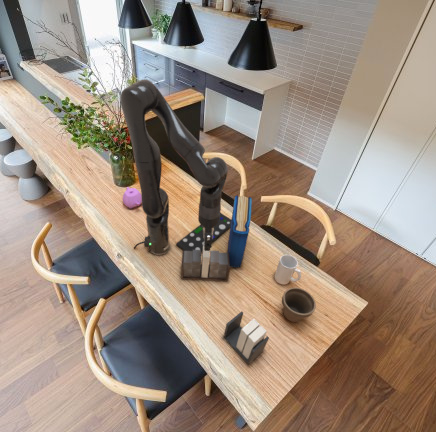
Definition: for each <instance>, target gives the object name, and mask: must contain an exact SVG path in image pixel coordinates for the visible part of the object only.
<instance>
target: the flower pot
mask: <svg viewBox="0 0 436 432" xmlns="http://www.w3.org/2000/svg"><path fill="white" fill-rule="evenodd" d="M281 304H282V307H283V308H282V310H283V315H284V318H285V319H287V320H288V321H290V322H300V321H301V320H302V319H306V318H308V317H310V316H311V315H312V314H313V313H314V312H315V310H316V308H317V304H316V300H315V298H314V297H313V295H312V294H311V293H310V292H309V291H307V290H305V289H304V288H301V287H290V288H288V289H286V290H285V291H284V292H283V295H282V297H281Z"/></svg>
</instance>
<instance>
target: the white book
mask: <svg viewBox="0 0 436 432" xmlns="http://www.w3.org/2000/svg"><path fill="white" fill-rule="evenodd" d="M210 251H211V250H210ZM210 251H205V250H204V245H203V251H202V252H201V265H202V269H201V277H203V278H208V268H209V260H210Z"/></svg>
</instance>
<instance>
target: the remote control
mask: <svg viewBox="0 0 436 432" xmlns="http://www.w3.org/2000/svg"><path fill="white" fill-rule="evenodd" d="M231 219H232V218H229V217H228V216H226V215H224V214H223V213H221V212H220V219H219V223H218V224H217V225H216V226H214V231H213V239H212V244H214V243H215V241H217V240H218V239H219V238H220V237H221V236H222V235H225V233H226V232H228V230H230V226H231ZM203 232H204V231H203V226H202V225H201V224H199V225H198V226H197V227H195V228H194V229H193V230H192V231H190V232H189V233H188V234H186V235H185V236H183V238H181V239H180V240H179V241H177V242H176V243H175V245H176V247H177V248H179V249H180V250H181V251H193V250H201V253H203V245H204V241H205V239H204V238H203ZM205 235H207V234H205ZM210 235H211V234H210Z"/></svg>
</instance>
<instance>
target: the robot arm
mask: <svg viewBox="0 0 436 432" xmlns="http://www.w3.org/2000/svg"><path fill="white" fill-rule="evenodd" d="M119 100H120V106H121V110H122V113H123V116H124V120H125V123H126V127H127V130H128V133H129V137H130V143H131V146H132V152H133V158H134V164H135V168H136V173H137V178H138V182H139V186H140V193H141V196H142V203H141V208H142V211H143V212H144V214H145V215H146V217H145V221H146V229H147V236H144V239H143V241H140V242H138V243H137V244H135V245H134V246H133V249H134V250H135V249H136V248H137V247H138V246H139V245H142V244H143V246H144V248H148V252H149V253H151V254H153V255H156V256H162V255H166V254H167V253H168V252H169V251H170V247H171V245H170V233H169V232H170V231H169V230H170V229H169V215H170V198H169V194H168V193H167V192H166V190H164V189H163V188H162V187H161V179H162V170H163V169H162V168H163V167H162V165H163V163H162V156H161V151H160V150H161V149H160V147H159V145H158V143H157V142H156V141H155V140H154V139H153V138H152V136H150V134H149V132H148V130H147V124H146V115H147V114H148V113H150V112H152V113H153V114H155V115H156V116H157V117H158V119H159V120H160V122H161V123H162V125H163V128H164V130H165V134H166V137H167V139H168V142H169V144H170V146H171V147H172V149H173V150H174V151H175V152H176V153H177V154H178V155H179V156H180V157H181V158H182V159H183V160H184V161H185V162H186V164H187V165H188V168H189V169H190V171H191V173H192V174H193V176H194V178H195V180H196V181H197V182H198V184H200V186H202V187H201V188H200V191H199V204H198V218H197V219H198V220H197V221H198V223H199V225H202V226H203V231H204V232H203V238H204V239H205V241H204V250H205V251H211V249H212V247H213V246H212V245H213V243H212V239H213V231H214V226H216V225H217V224H218V223H219V219H220V213H221V209H222V204H221V203H222V192H223V189H224V186H225V184H226V180H227V177H228V171H229V170H228V169H229V168H228V165H227V163H226V161H225V160H224V159H223V158H221V157H220V156H219V157H218V156H215V157H212V158H209V160H208V161H207V162H205V160H204V157H203V156H204V154H205V151H206V149H205V146H204V145H203V144H202V143H200V141H199V140H198V139H197V138H196V137H195V136H194V135H193V134H192V133H191V132H190V131H189V129H188V128H187V127H186V126H185V125H184V124H183V122H182V121H181V120H180V118H179V117H178V116H177V114H176V113H175V111H174V110H173V108H172V107H171V105H170V104H169V103H168V101H167V99H166V98H165V97H164V95H163V94H162V93H161V91H160V90H159V88H158V87H157V86H156V85H155V84H154V83H153V82H152V81H151V80H148V79H140V80H138V81H136V82H134V83H132V84H131V85H130V84H129V86H127V87H125V88H124V89H123V90H122V91H121V92H120V99H119ZM205 234H207V235H205ZM210 234H211V235H210Z"/></svg>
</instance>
